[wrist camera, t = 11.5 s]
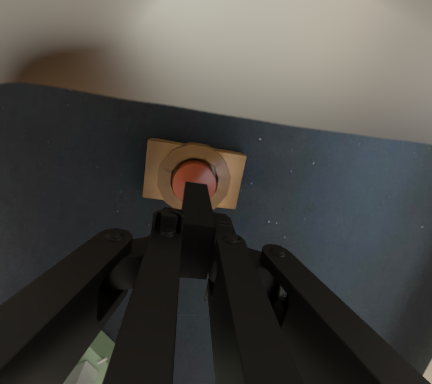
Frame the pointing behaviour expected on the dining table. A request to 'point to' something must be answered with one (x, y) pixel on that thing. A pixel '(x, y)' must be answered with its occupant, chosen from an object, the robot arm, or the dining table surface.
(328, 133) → the dining table surface
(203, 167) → the drain button
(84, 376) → the tap handle
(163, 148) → the button block
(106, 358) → the plate
